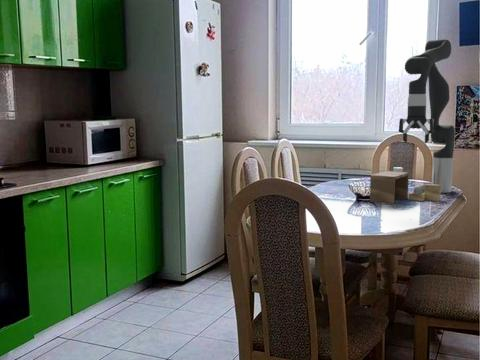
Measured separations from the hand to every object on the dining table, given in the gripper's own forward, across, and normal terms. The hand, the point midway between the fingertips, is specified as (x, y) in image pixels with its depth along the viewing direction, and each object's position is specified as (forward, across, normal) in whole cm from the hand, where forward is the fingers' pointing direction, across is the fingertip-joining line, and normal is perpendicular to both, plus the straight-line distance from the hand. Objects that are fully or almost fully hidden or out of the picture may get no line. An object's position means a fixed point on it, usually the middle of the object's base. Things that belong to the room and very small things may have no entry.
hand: (415, 142), depth 237 cm
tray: (+27, -2, -15) cm, 32 cm away
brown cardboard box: (+27, +12, -6) cm, 30 cm away
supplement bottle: (+28, +13, -26) cm, 40 cm away
